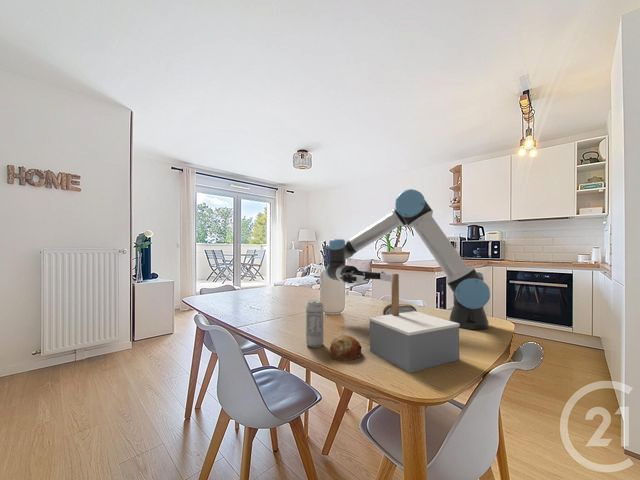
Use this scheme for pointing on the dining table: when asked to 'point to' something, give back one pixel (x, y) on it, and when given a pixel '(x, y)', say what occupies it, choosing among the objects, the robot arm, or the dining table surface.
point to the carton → (415, 347)
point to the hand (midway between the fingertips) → (377, 279)
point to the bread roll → (345, 348)
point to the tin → (402, 309)
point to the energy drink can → (314, 323)
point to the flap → (410, 317)
